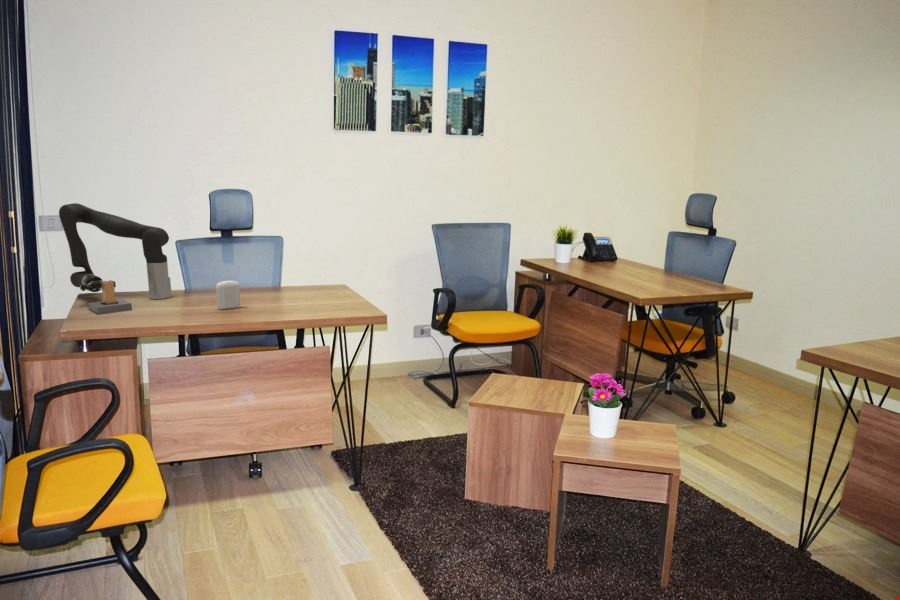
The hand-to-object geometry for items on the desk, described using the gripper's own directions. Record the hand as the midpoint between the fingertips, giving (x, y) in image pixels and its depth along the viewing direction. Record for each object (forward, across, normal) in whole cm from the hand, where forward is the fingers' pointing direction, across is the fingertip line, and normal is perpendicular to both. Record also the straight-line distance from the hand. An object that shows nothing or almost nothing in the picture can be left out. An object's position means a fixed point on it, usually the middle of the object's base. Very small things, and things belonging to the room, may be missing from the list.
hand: (102, 287), depth 325 cm
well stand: (+10, 0, +9) cm, 13 cm away
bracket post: (+10, 0, +8) cm, 13 cm away
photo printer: (+42, +41, +9) cm, 59 cm away
